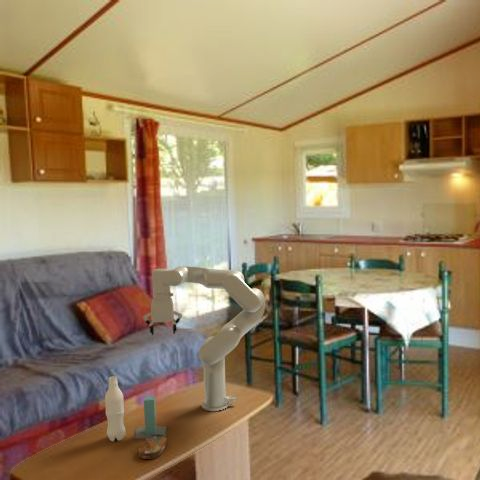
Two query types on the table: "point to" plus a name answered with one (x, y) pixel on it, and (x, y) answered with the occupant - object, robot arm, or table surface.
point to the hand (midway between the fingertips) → (163, 333)
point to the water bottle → (114, 410)
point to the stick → (150, 415)
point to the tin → (152, 446)
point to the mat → (142, 435)
